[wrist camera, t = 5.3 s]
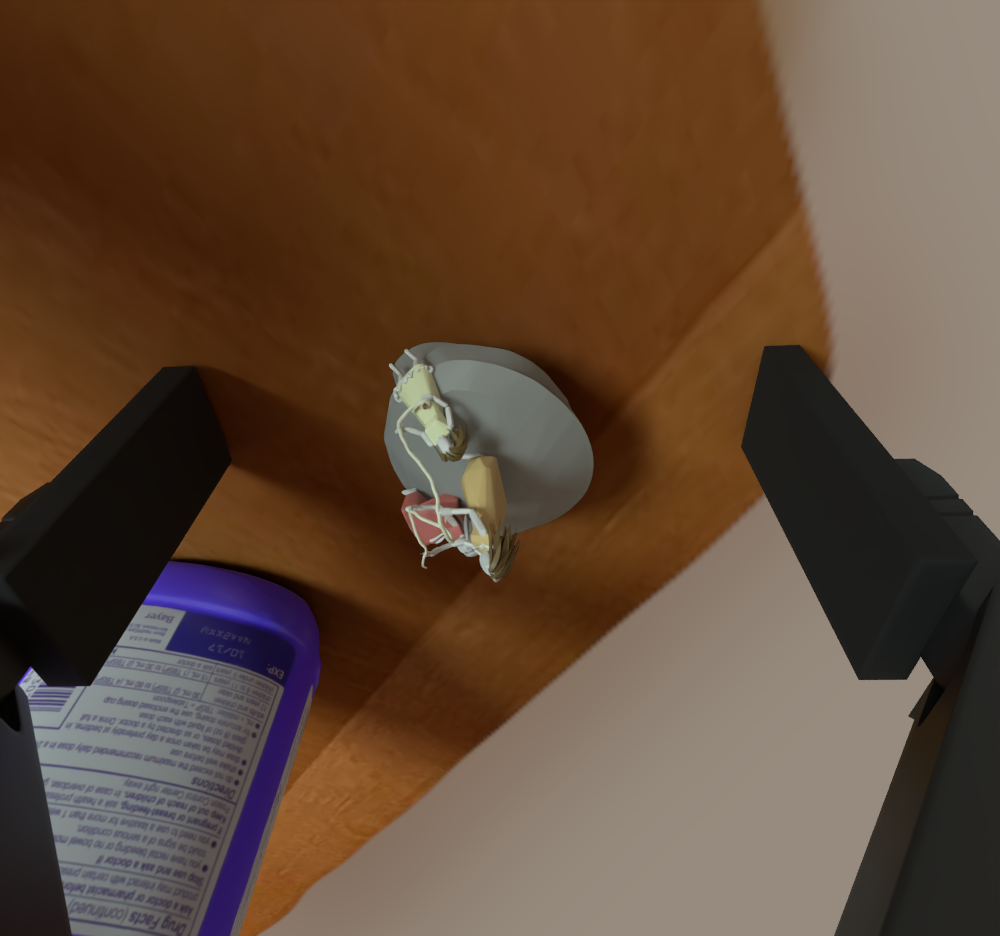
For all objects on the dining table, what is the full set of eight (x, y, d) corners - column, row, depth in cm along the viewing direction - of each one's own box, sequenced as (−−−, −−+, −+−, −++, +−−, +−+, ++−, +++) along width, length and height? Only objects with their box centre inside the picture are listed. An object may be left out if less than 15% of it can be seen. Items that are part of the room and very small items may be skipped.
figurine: (622, 428, 15) (670, 626, 10) (486, 512, 17) (473, 715, 12) (481, 262, 13) (456, 419, 8) (340, 382, 14) (250, 568, 10)
